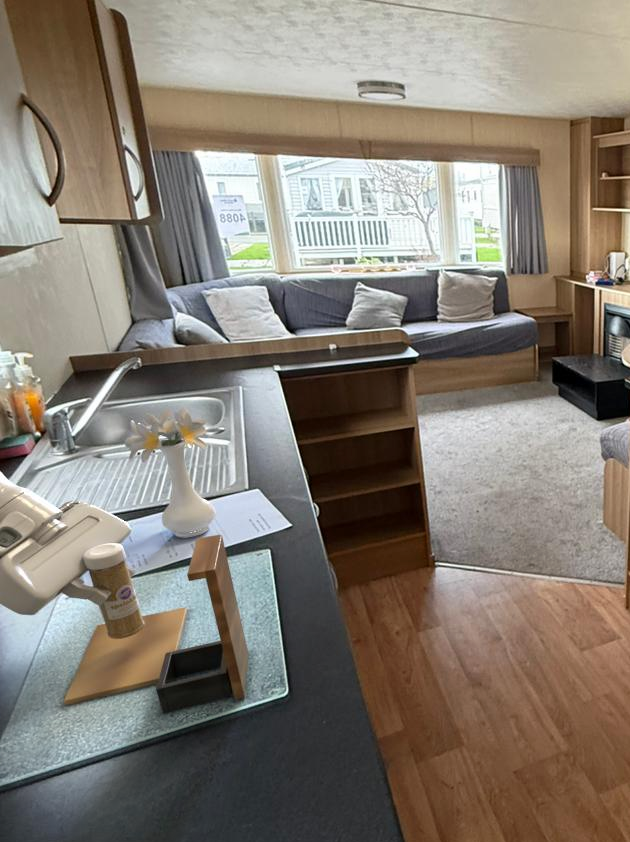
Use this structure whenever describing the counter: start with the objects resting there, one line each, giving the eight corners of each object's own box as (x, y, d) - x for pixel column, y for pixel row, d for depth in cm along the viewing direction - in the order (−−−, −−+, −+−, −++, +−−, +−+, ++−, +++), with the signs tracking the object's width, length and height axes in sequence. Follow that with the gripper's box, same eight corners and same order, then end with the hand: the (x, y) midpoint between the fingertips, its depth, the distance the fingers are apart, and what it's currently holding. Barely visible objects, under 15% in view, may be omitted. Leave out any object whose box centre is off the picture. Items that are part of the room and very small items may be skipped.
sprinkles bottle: (130, 641, 92) (105, 559, 88) (99, 639, 93) (73, 557, 88) (153, 621, 97) (130, 542, 92) (124, 620, 97) (100, 540, 92)
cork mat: (65, 705, 86) (63, 701, 86) (98, 629, 101) (97, 625, 101) (170, 680, 90) (169, 675, 90) (187, 611, 106) (186, 606, 106)
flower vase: (228, 506, 142) (204, 396, 134) (225, 542, 127) (198, 421, 118) (158, 517, 137) (128, 404, 128) (146, 557, 121) (112, 432, 113)
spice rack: (161, 719, 84) (122, 586, 77) (173, 671, 92) (138, 547, 85) (244, 698, 87) (214, 569, 80) (248, 653, 96) (221, 534, 89)
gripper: (62, 511, 98) (146, 564, 102) (-52, 585, 79) (57, 647, 83) (86, 483, 97) (170, 538, 101) (-24, 552, 78) (85, 616, 82)
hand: (118, 588), depth 92 cm, fingers closed on sprinkles bottle, 4 cm apart
